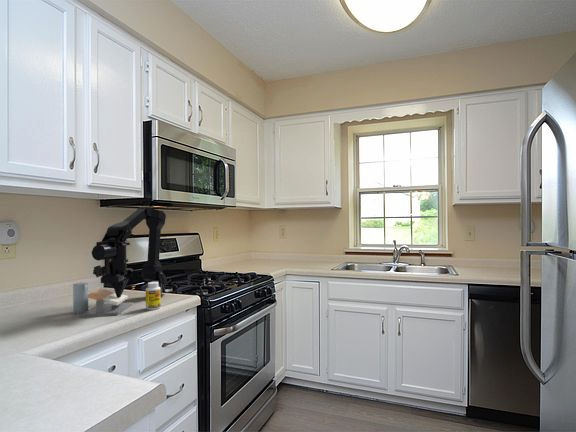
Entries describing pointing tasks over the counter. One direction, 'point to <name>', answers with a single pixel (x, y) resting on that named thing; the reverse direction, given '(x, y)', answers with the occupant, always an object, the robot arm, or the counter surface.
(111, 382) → the counter surface
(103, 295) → the two-tone square pad
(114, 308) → the switch base
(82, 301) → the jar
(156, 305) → the supplement bottle
